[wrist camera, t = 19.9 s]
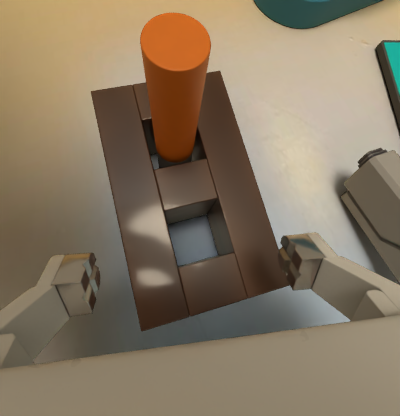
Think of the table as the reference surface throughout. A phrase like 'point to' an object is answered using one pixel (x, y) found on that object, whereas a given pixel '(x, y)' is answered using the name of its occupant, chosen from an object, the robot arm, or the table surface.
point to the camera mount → (309, 10)
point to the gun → (378, 203)
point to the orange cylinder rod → (175, 82)
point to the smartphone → (391, 70)
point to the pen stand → (186, 207)
